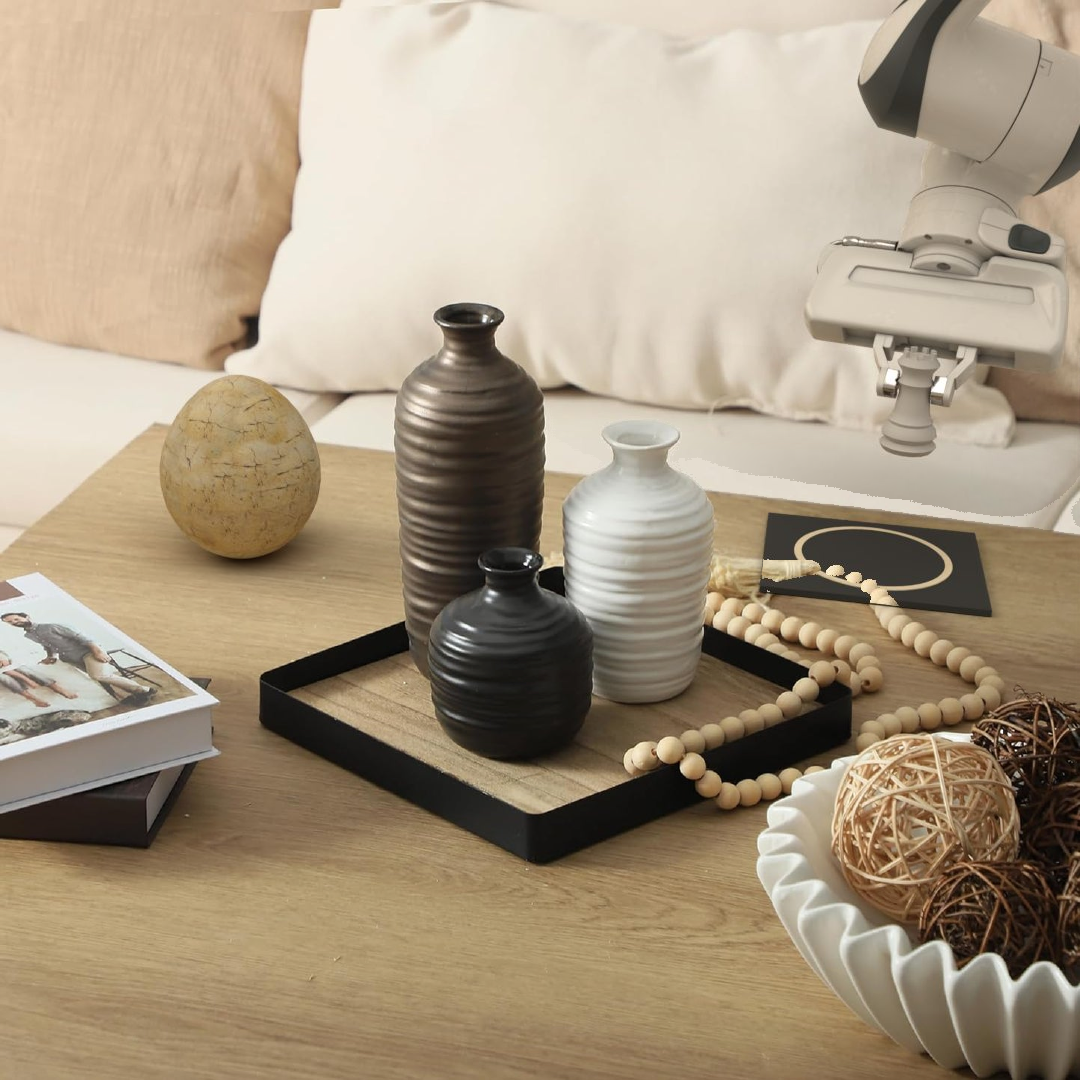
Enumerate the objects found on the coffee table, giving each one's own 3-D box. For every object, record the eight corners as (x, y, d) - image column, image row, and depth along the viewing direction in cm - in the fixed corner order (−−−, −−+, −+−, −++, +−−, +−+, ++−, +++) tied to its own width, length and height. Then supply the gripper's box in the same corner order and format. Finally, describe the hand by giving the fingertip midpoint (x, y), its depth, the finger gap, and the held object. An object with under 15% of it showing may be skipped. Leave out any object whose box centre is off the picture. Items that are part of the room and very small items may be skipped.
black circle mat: (974, 538, 129) (975, 531, 129) (991, 617, 115) (992, 608, 115) (767, 518, 132) (768, 510, 132) (759, 592, 118) (759, 583, 117)
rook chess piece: (897, 435, 119) (911, 339, 116) (946, 450, 116) (961, 352, 113) (866, 447, 116) (879, 349, 113) (915, 463, 113) (930, 362, 110)
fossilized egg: (242, 511, 130) (233, 345, 124) (354, 546, 123) (351, 373, 117) (132, 558, 120) (117, 380, 114) (248, 598, 113) (239, 412, 107)
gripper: (823, 211, 119) (777, 357, 115) (1087, 242, 112) (1049, 399, 108) (830, 255, 125) (787, 396, 121) (1082, 287, 118) (1045, 439, 113)
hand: (912, 398), depth 114 cm, fingers closed on rook chess piece, 3 cm apart
